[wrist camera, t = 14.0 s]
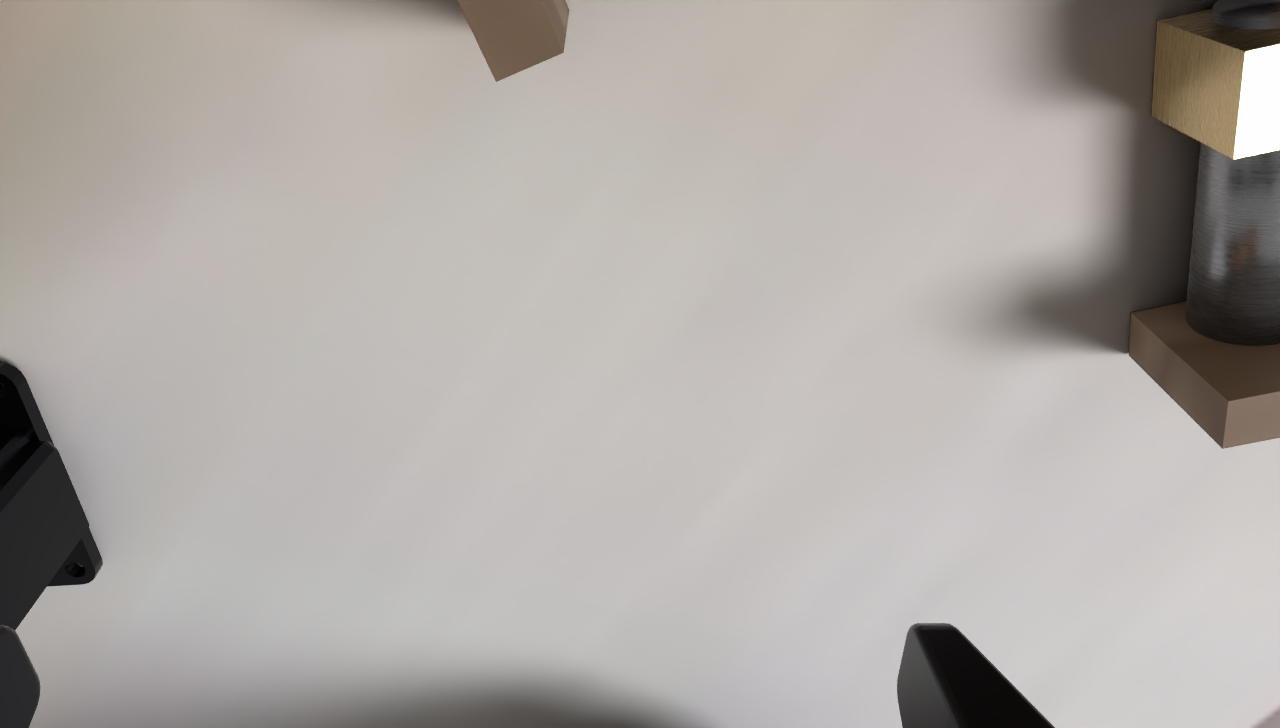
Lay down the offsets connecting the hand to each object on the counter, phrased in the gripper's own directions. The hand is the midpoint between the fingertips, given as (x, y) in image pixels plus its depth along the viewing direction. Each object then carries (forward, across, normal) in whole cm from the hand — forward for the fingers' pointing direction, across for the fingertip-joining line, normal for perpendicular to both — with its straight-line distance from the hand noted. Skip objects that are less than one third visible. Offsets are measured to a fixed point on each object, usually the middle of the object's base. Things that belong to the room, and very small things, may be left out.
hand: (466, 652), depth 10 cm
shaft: (+13, -15, 0) cm, 20 cm away
